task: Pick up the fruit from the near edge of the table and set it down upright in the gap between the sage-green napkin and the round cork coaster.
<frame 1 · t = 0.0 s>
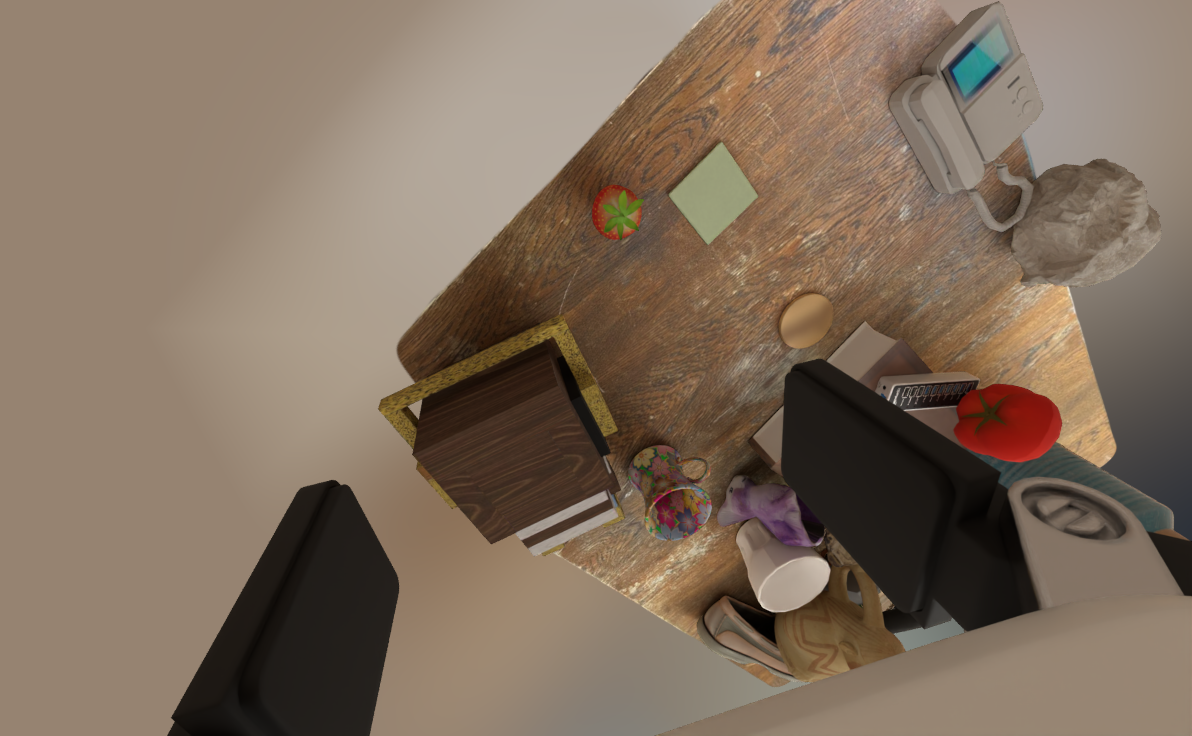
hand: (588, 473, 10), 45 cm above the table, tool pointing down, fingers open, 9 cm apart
napkin: (713, 195, 53), on the table
ceramic vessel: (804, 640, 85), point 8 cm above the table, touching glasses, loafer
mug: (658, 458, 69), on the table
cup: (757, 531, 81), on the table, touching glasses
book: (851, 424, 74), on the table, touching figurine, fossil, multiport hub
multiport hub: (917, 386, 64), point 7 cm above the table, touching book, tomato
stone: (1113, 273, 56), point 11 cm above the table
figurine: (813, 509, 65), point 10 cm above the table, touching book
brown wooden box: (582, 529, 63), point 6 cm above the table
tomato: (1024, 431, 59), point 16 cm above the table, touching multiport hub
vase: (972, 448, 83), on the table
flashlight: (877, 639, 88), point 9 cm above the table, touching succulent plant
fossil: (908, 464, 72), point 6 cm above the table, touching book
loafer: (757, 655, 88), point 5 cm above the table, touching ceramic vessel
intercom: (1022, 212, 60), point 3 cm above the table
succulent plant: (851, 568, 92), on the table, touching flashlight
fruit: (606, 207, 51), on the table
coaster: (804, 320, 63), on the table
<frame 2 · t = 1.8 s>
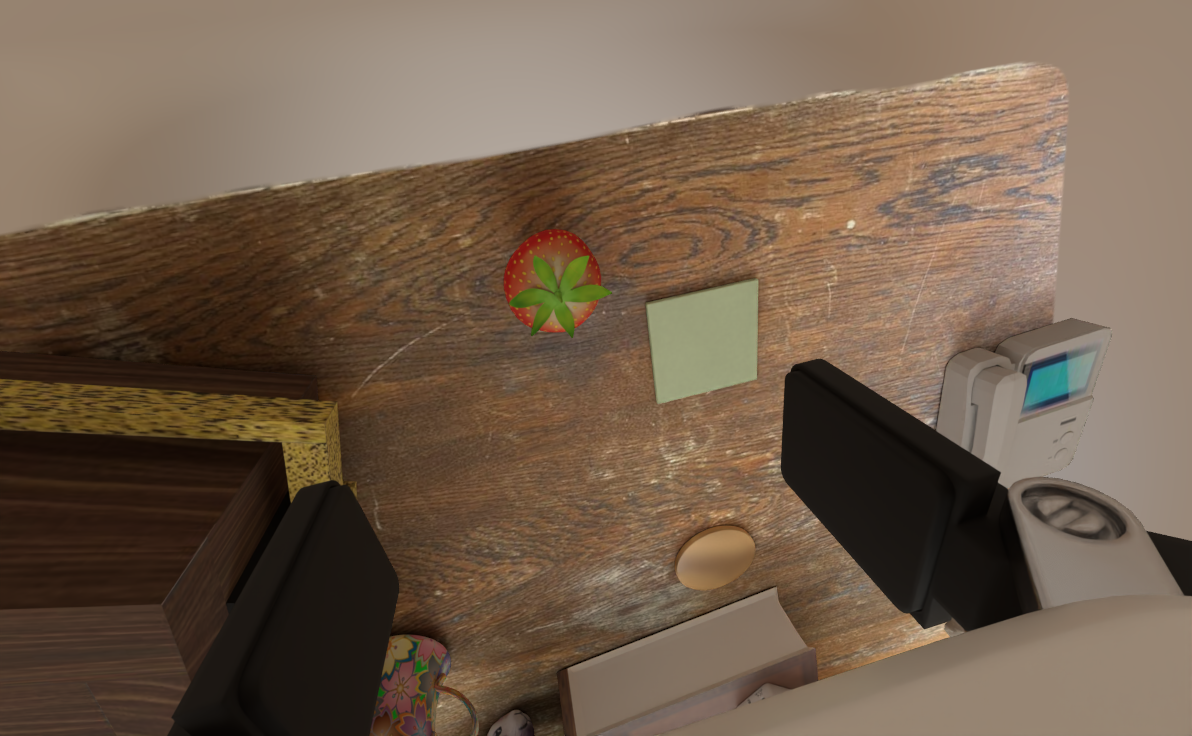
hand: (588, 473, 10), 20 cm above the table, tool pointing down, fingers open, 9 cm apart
napkin: (703, 342, 33), on the table
mug: (417, 649, 41), on the table
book: (691, 692, 54), on the table, touching figurine, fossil, multiport hub
multiport hub: (794, 705, 46), point 7 cm above the table, touching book, tomato
intercom: (987, 554, 48), point 3 cm above the table
fruit: (544, 261, 28), on the table
coaster: (713, 556, 44), on the table
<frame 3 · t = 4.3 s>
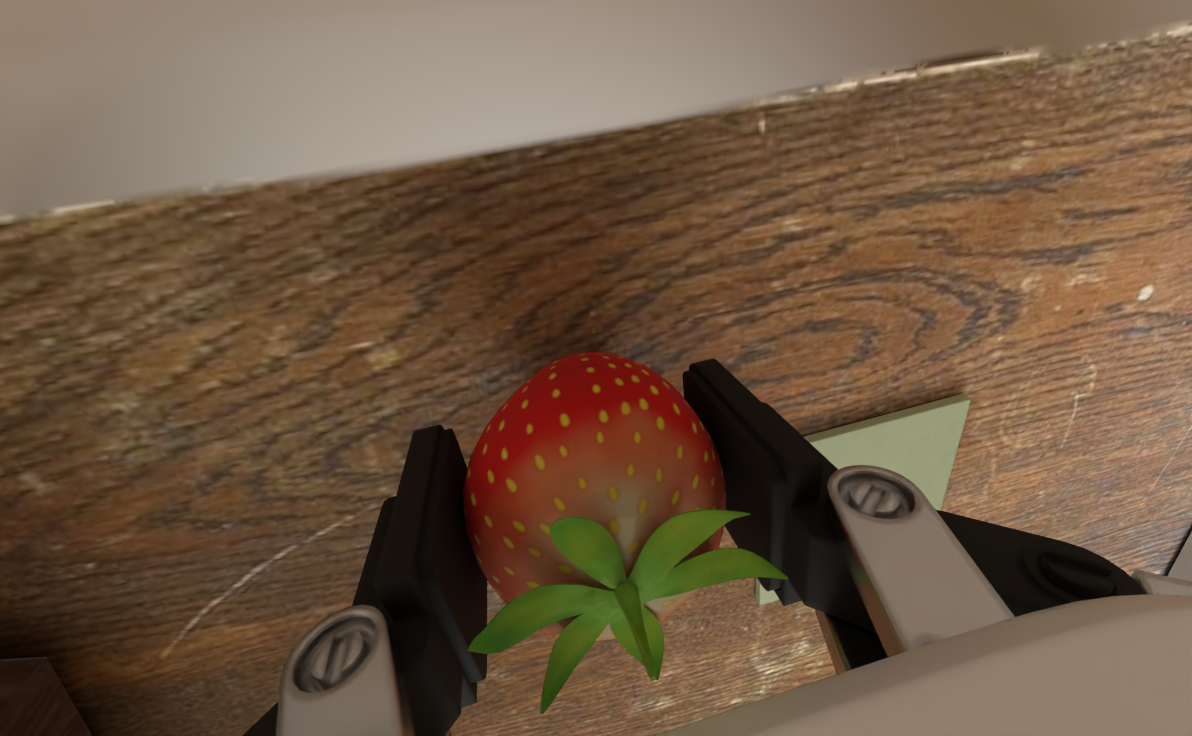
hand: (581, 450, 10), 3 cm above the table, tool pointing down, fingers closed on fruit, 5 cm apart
napkin: (850, 503, 18), on the table
fruit: (563, 387, 13), on the table, touching gripper
when the fingers open (3 cm above the table, at t = 11.3 s): fruit stays where it is, on the table.
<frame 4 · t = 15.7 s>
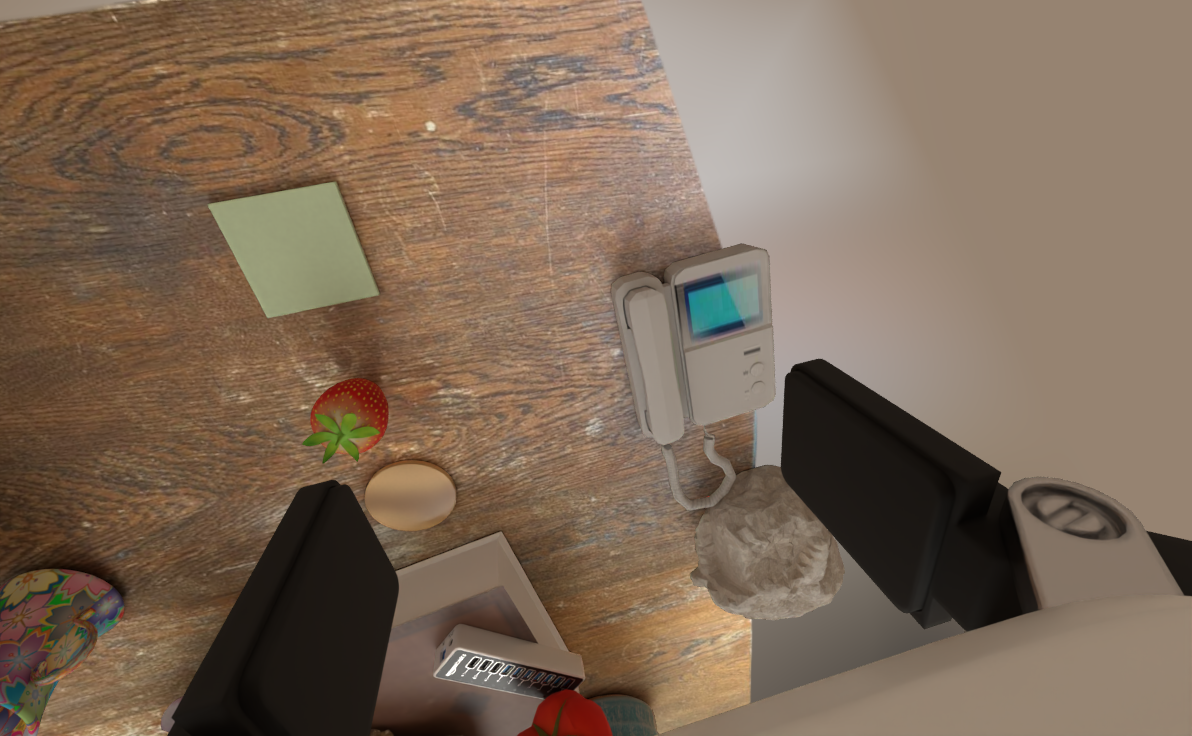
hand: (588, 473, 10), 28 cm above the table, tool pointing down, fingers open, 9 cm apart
napkin: (301, 251, 32), on the table
mug: (88, 588, 40), on the table
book: (446, 647, 53), on the table, touching figurine, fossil, multiport hub
multiport hub: (512, 651, 45), point 7 cm above the table, touching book, tomato
stone: (762, 626, 44), point 11 cm above the table
vase: (597, 721, 66), on the table
intercom: (720, 498, 47), point 3 cm above the table
fruit: (365, 388, 37), on the table
coaster: (412, 494, 43), on the table
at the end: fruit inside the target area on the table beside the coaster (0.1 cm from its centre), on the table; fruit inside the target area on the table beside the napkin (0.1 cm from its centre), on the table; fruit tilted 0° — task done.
